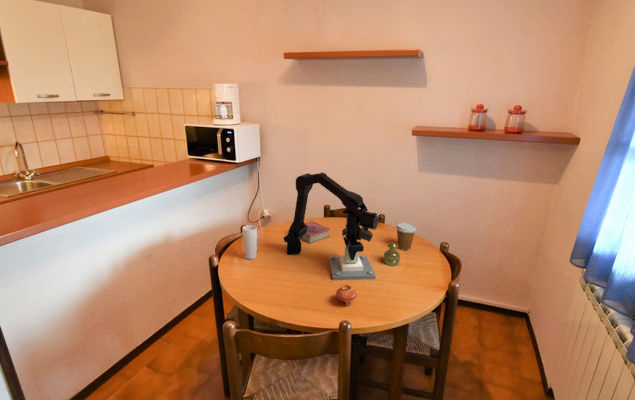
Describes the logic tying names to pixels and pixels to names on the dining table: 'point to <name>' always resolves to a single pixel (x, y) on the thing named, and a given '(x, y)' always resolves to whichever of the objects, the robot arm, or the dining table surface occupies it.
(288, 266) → the dining table surface
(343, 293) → the pot
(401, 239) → the disposable coffee cup
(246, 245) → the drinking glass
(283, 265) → the dining table surface
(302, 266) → the dining table surface
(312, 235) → the book
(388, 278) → the dining table surface
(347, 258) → the sage brick
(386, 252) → the green tiered ornament
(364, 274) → the tower base
